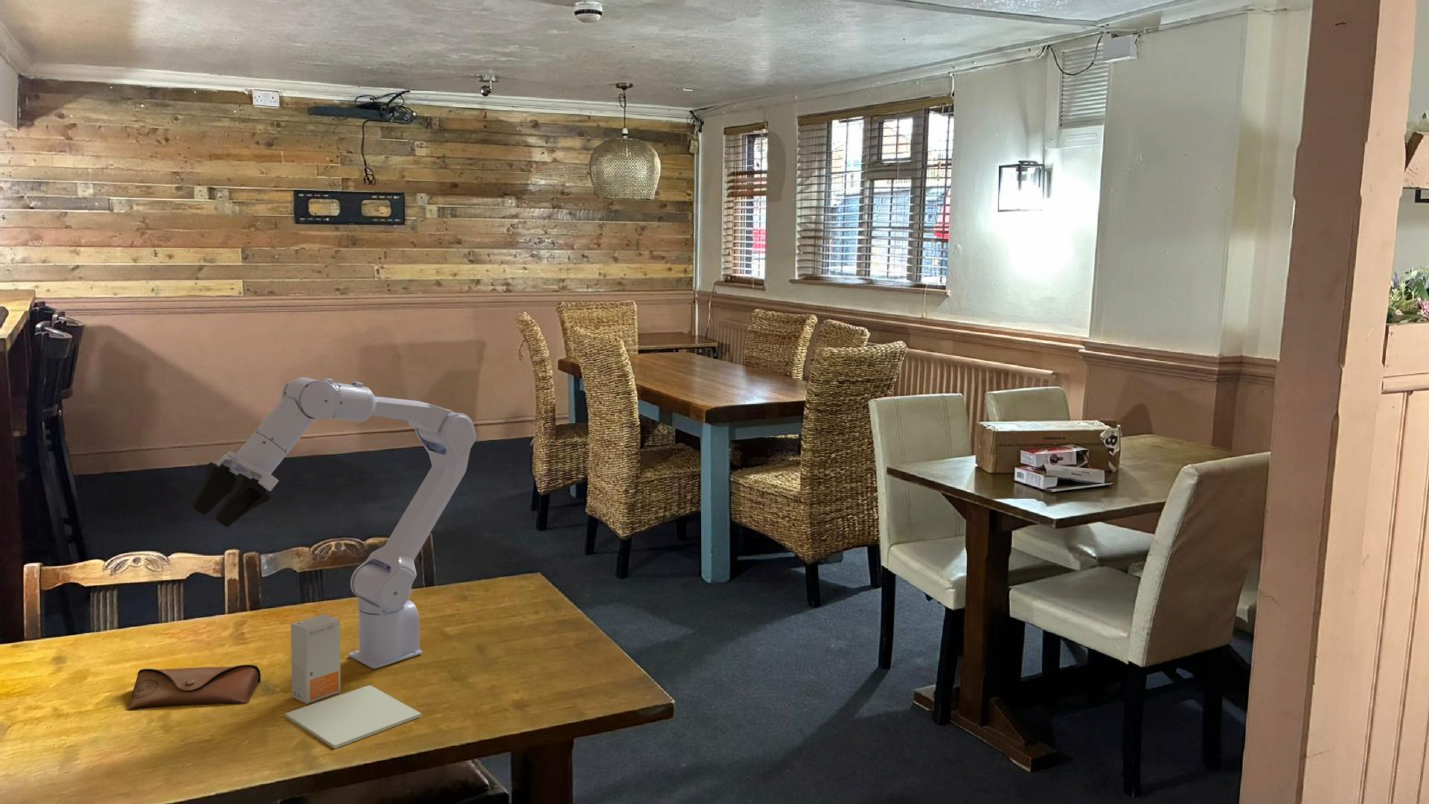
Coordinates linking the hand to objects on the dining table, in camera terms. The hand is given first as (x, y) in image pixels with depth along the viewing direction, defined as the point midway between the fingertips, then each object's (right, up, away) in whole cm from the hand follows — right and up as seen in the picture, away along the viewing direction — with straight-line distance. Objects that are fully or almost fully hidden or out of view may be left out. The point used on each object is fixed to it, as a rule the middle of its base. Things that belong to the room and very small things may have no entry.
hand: (209, 517), depth 153 cm
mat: (+20, -30, +3) cm, 36 cm away
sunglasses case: (-6, -29, +8) cm, 31 cm away
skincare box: (+12, -29, +9) cm, 33 cm away
